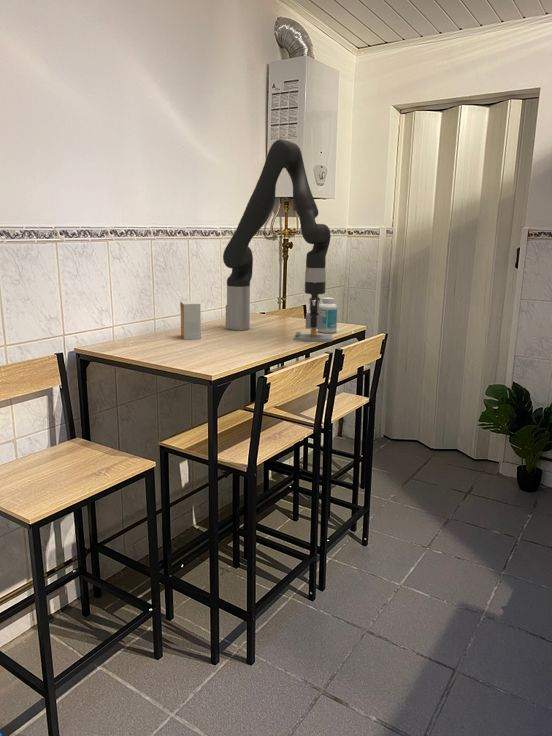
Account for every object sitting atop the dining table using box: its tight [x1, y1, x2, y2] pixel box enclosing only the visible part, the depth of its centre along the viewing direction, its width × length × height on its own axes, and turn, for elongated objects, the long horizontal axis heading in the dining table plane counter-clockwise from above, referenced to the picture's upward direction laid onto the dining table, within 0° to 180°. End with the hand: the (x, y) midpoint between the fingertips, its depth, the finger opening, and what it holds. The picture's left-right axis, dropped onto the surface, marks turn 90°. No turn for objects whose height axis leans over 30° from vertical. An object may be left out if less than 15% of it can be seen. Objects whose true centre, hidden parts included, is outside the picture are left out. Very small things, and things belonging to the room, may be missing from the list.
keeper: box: [293, 329, 333, 343], centre depth 215 cm, size 14×9×5 cm, turn 84°
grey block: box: [305, 312, 323, 330], centre depth 214 cm, size 6×6×5 cm
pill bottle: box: [317, 297, 338, 334], centre depth 229 cm, size 8×7×14 cm
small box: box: [179, 300, 202, 340], centre depth 212 cm, size 8×6×13 cm
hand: (313, 325), depth 214 cm, fingers closed on grey block, 6 cm apart
